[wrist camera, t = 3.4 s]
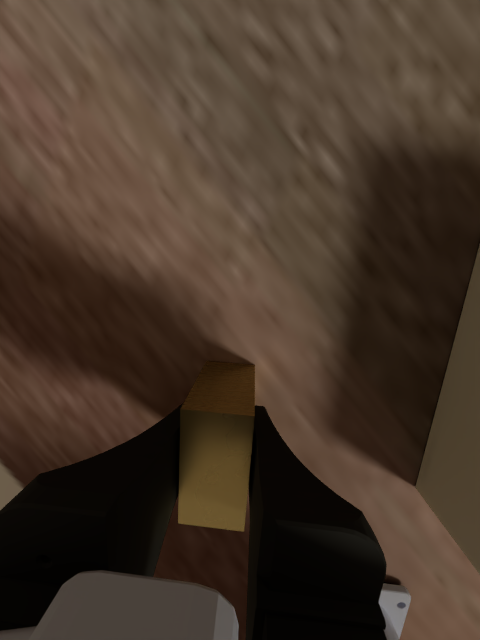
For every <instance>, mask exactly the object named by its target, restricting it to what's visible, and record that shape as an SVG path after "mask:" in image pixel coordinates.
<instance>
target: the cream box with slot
mask: <svg viewBox="0 0 480 640" xmlns="http://www.w3.org/2000/svg"><path fill="white" fill-rule="evenodd" d="M415 488H416V489H417V490H418V492H419V493H420V494H421V496H422V497H423V498H424V500H425V501H426V503H427V504H428V505H429V507H430V508H431V509H432V511H433V512H434V513H435V515H436V516H437V517H438V519H439V520H440V521H441V523H442V524H443V525H444V527H445V528H446V529H447V531H448V532H449V533H450V535H451V536H452V538H453V539H454V540H455V542H456V543H457V544H458V546H459V547H460V548H461V550H462V551H463V552H464V554H465V555H466V556H467V558H468V559H469V560H470V562H471V563H472V564H473V566H474V567H475V569H476V570H477V571H478V573H479V574H480V245H479V249H478V253H477V256H476V260H475V264H474V268H473V271H472V275H471V279H470V283H469V286H468V290H467V294H466V298H465V302H464V305H463V309H462V313H461V317H460V320H459V324H458V328H457V332H456V335H455V339H454V343H453V347H452V351H451V354H450V358H449V362H448V366H447V369H446V373H445V377H444V381H443V384H442V388H441V392H440V396H439V400H438V403H437V407H436V411H435V415H434V418H433V422H432V426H431V430H430V433H429V437H428V441H427V445H426V449H425V452H424V456H423V460H422V464H421V467H420V471H419V475H418V479H417V482H416V486H415Z"/></svg>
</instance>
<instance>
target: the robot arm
mask: <svg viewBox="0 0 480 640" xmlns="http://www.w3.org/2000/svg"><path fill="white" fill-rule="evenodd" d="M182 405H183V404H181V405H180V406H179V407H178V408H177V409H175V410H174V411H173V412H172V413H170V414H169V415H168V416H166V417H165V418H164V419H162V420H161V421H159V422H158V423H156V424H155V425H154V426H152V427H151V428H149V429H148V430H146V431H145V432H143V433H141V434H140V435H138V436H136V437H134V438H132V439H131V440H129V441H127V442H125V443H123V444H121V445H119V446H116V447H114V448H112V449H110V450H108V451H106V452H104V453H101V454H99V455H96V456H94V457H91V458H88V459H86V460H83V461H80V462H78V463H75V464H72V465H68V466H65V467H62V468H58V469H55V470H52V471H49V472H45V473H41V474H39V475H38V476H37V477H36V478H35V479H34V480H33V481H31V482H30V483H29V484H28V485H27V486H26V487H25V488H24V489H23V490H22V491H21V492H20V493H19V494H18V495H17V496H15V497H14V498H13V499H12V500H11V501H10V502H9V503H8V504H7V505H6V506H5V507H4V508H3V509H2V510H0V640H238V630H239V624H238V620H237V617H236V613H235V609H234V607H233V606H232V604H231V603H230V602H229V601H228V600H227V599H226V598H225V597H224V596H223V595H222V594H221V593H220V592H218V591H217V590H215V589H213V588H210V587H207V586H204V585H201V584H198V583H192V582H185V581H177V580H170V579H163V578H155V577H153V575H154V571H155V568H156V564H157V561H158V557H159V554H160V550H161V547H162V543H163V540H164V536H165V533H166V530H167V526H168V523H169V520H170V516H171V513H172V510H173V507H174V504H175V502H176V499H177V496H178V494H179V456H180V409H181V407H182ZM248 484H249V504H250V535H249V565H248V593H247V619H246V640H399V638H400V635H401V631H402V628H403V625H404V621H405V618H406V615H407V611H408V608H409V604H410V601H411V596H410V594H409V592H408V590H407V588H405V587H404V586H401V585H394V584H386V583H384V579H385V575H386V561H385V557H384V554H383V551H382V549H381V547H380V545H379V543H378V540H377V538H376V536H375V534H374V532H373V531H372V529H371V527H370V525H369V523H368V522H367V520H366V518H365V516H364V515H363V513H362V511H360V510H359V509H357V508H356V507H354V506H353V505H352V504H350V503H349V502H347V501H346V500H344V499H343V498H341V497H340V496H339V495H337V494H336V493H335V492H333V491H332V490H331V489H330V488H328V487H327V486H326V485H325V484H324V483H322V482H321V481H320V480H319V479H318V478H317V477H316V476H314V475H313V474H312V473H311V472H310V471H309V470H308V469H307V468H306V467H305V466H304V465H303V464H302V463H301V462H300V461H299V460H298V458H297V457H296V456H295V455H294V454H293V452H292V451H291V450H290V449H289V447H288V446H287V445H286V443H285V442H284V440H283V439H282V437H281V436H280V434H279V433H278V431H277V430H276V428H275V426H274V425H273V423H272V421H271V419H270V417H269V415H268V413H267V411H266V409H265V407H264V406H255V418H254V429H253V440H252V450H251V461H250V472H249V483H248Z"/></svg>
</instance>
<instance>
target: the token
mask: <svg viewBox="0 0 480 640" xmlns="http://www.w3.org/2000/svg"><path fill="white" fill-rule="evenodd" d="M254 418H255V365H249V364H238V363H227V362H216V361H206V363H205V365H204V367H203V369H202V370H201V372H200V374H199V376H198V378H197V380H196V381H195V383H194V385H193V387H192V389H191V391H190V392H189V394H188V396H187V398H186V400H185V402H184V403H183V405H182V407H181V409H180V456H179V504H178V523H179V524H187V525H195V526H203V527H211V528H219V529H227V530H235V531H243V532H244V526H245V515H246V505H247V494H248V483H249V472H250V461H251V450H252V440H253V429H254Z"/></svg>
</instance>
